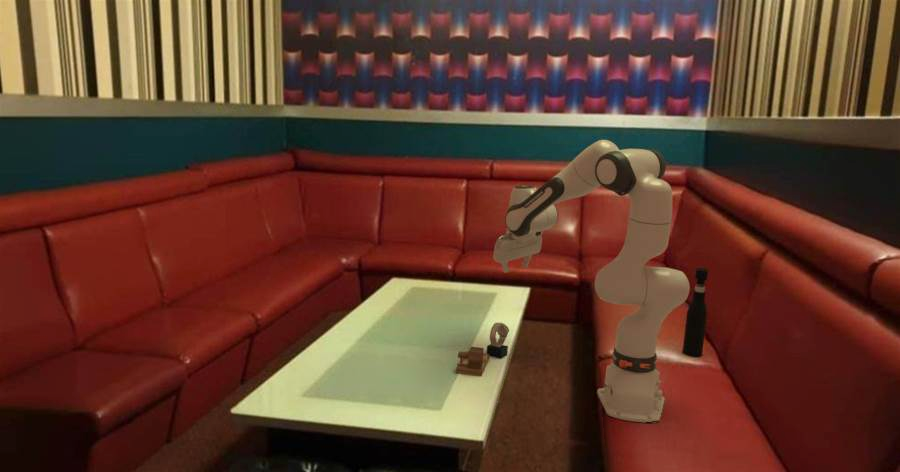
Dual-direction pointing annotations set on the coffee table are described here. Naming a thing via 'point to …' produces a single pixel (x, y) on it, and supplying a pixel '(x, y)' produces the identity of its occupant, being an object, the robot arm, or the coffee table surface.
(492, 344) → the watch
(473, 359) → the brown stepped block
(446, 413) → the coffee table surface
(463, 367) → the board
